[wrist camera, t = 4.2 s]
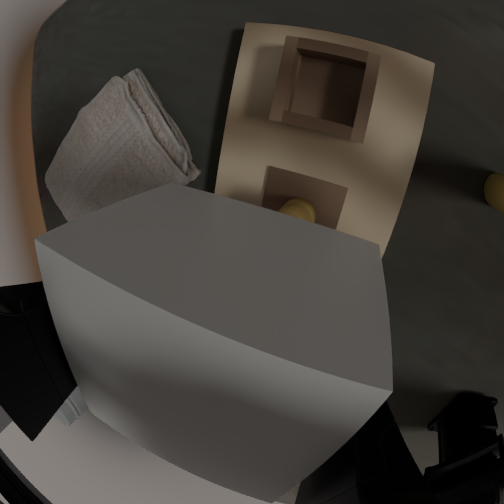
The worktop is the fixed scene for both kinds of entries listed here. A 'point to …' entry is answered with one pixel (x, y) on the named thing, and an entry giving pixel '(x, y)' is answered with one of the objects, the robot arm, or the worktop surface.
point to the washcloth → (118, 149)
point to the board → (323, 128)
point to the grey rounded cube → (221, 332)
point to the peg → (495, 191)
